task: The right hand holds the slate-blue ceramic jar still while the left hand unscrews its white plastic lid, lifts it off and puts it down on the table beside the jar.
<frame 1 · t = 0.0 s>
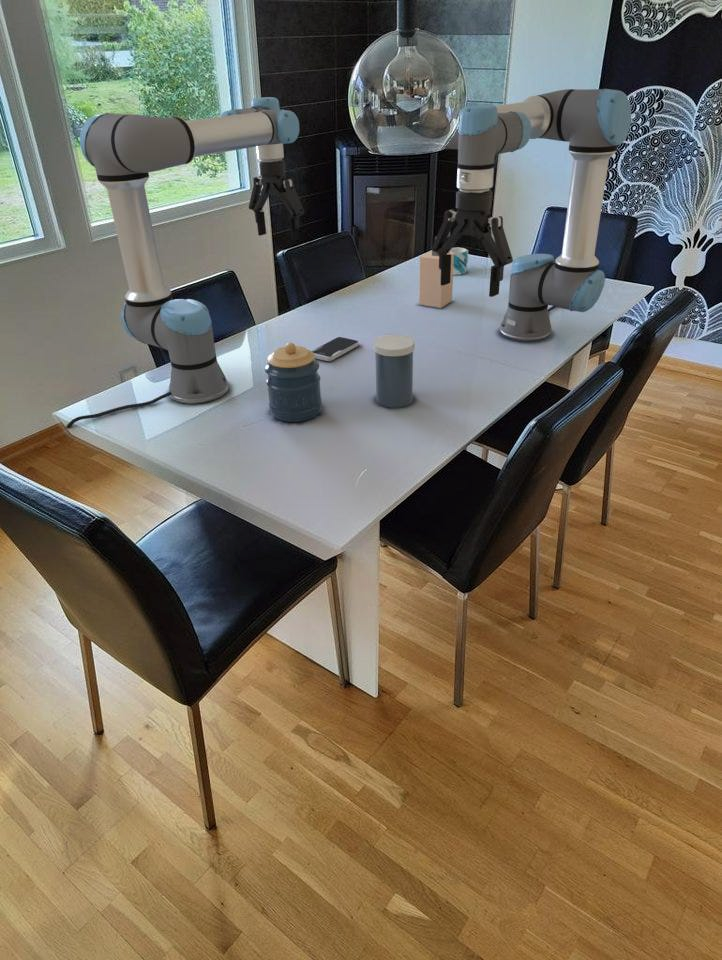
left hand: (278, 237, 202), 28 cm above the table, tool pointing down, fingers open, 13 cm apart
right hand: (469, 289, 153), 28 cm above the table, tool pointing down, fingers open, 13 cm apart
mug: (458, 270, 264), on the table
smartphone: (334, 351, 198), on the table
jar: (394, 399, 170), on the table
canister: (296, 411, 166), on the table
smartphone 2: (557, 290, 239), on the table
lid: (394, 343, 162), point 15 cm above the table, screwed on, not yet turned
soap dispenser: (438, 301, 233), on the table
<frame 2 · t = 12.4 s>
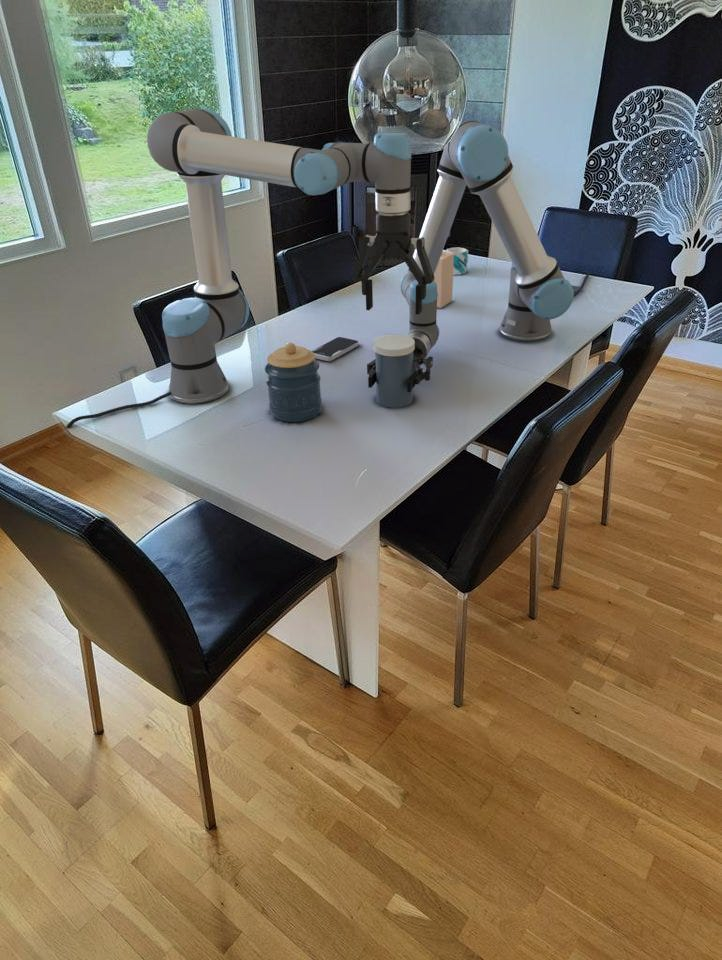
left hand: (393, 310, 157), 23 cm above the table, tool pointing down, fingers open, 11 cm apart
right hand: (389, 384, 163), 6 cm above the table, tool horizontal, fingers closed on jar, 9 cm apart
jar: (394, 399, 170), on the table, touching right hand
everything else where it was.
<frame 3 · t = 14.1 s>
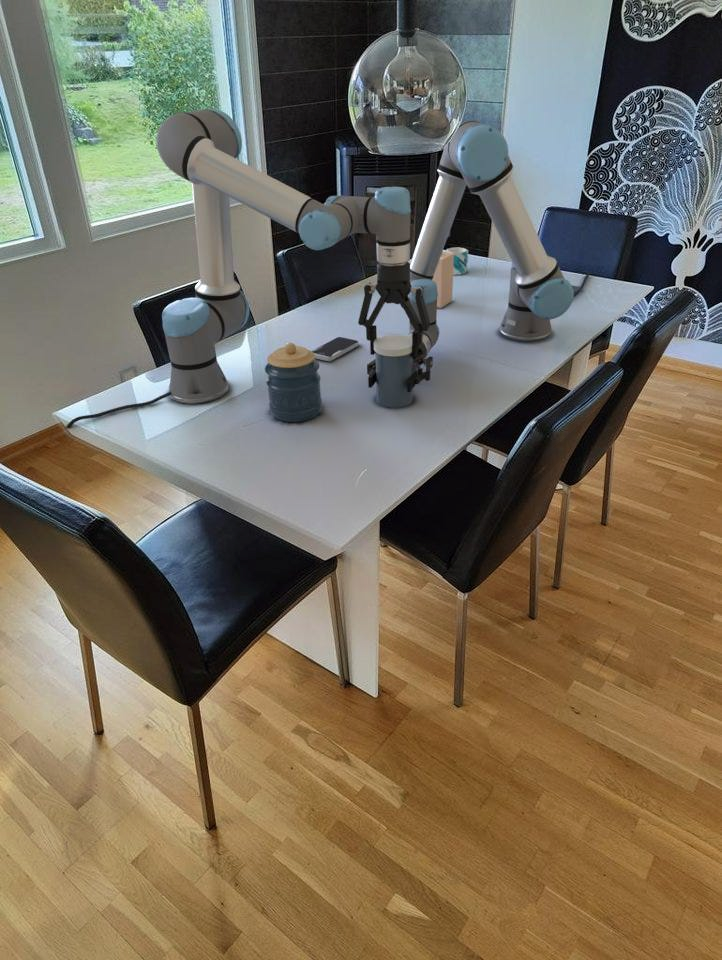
left hand: (394, 354, 163), 12 cm above the table, tool pointing down, fingers closed on lid, 10 cm apart
right hand: (389, 384, 163), 6 cm above the table, tool horizontal, fingers closed on jar, 9 cm apart
jar: (394, 399, 170), on the table, touching right hand
lid: (394, 343, 162), point 15 cm above the table, screwed on, not yet turned, touching left hand
everything else where it was.
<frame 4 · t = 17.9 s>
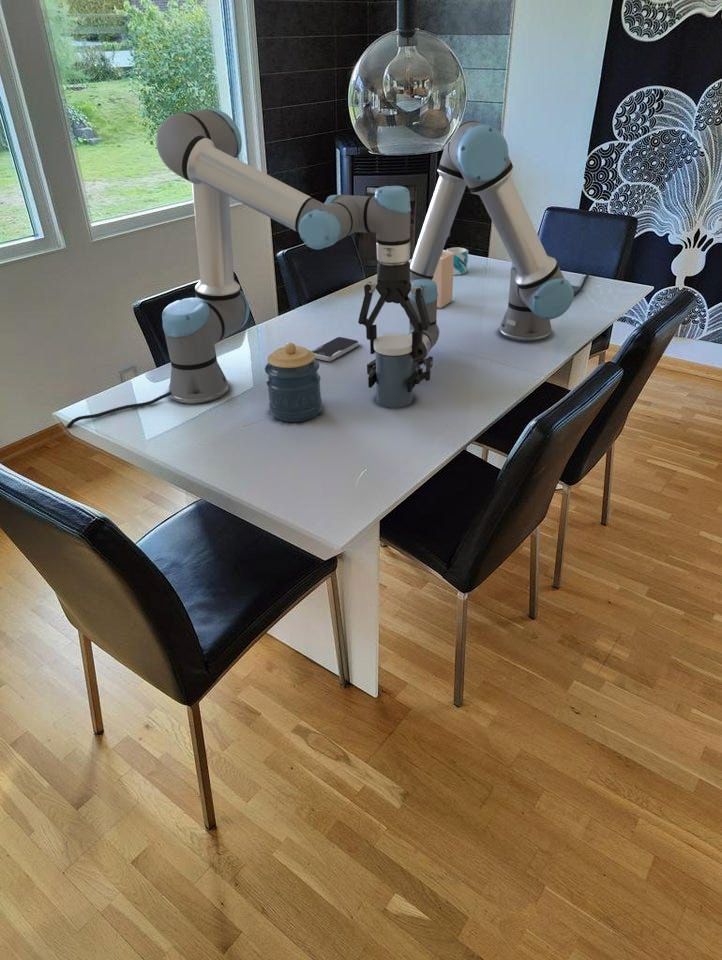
left hand: (394, 354, 163), 12 cm above the table, tool pointing down, fingers closed on lid, 10 cm apart
right hand: (389, 384, 163), 6 cm above the table, tool horizontal, fingers closed on jar, 9 cm apart
jar: (394, 399, 170), on the table, touching right hand
lid: (394, 342, 162), point 15 cm above the table, turned 124° so far, risen 0.2 cm, still on its thread, touching left hand
everything else where it was.
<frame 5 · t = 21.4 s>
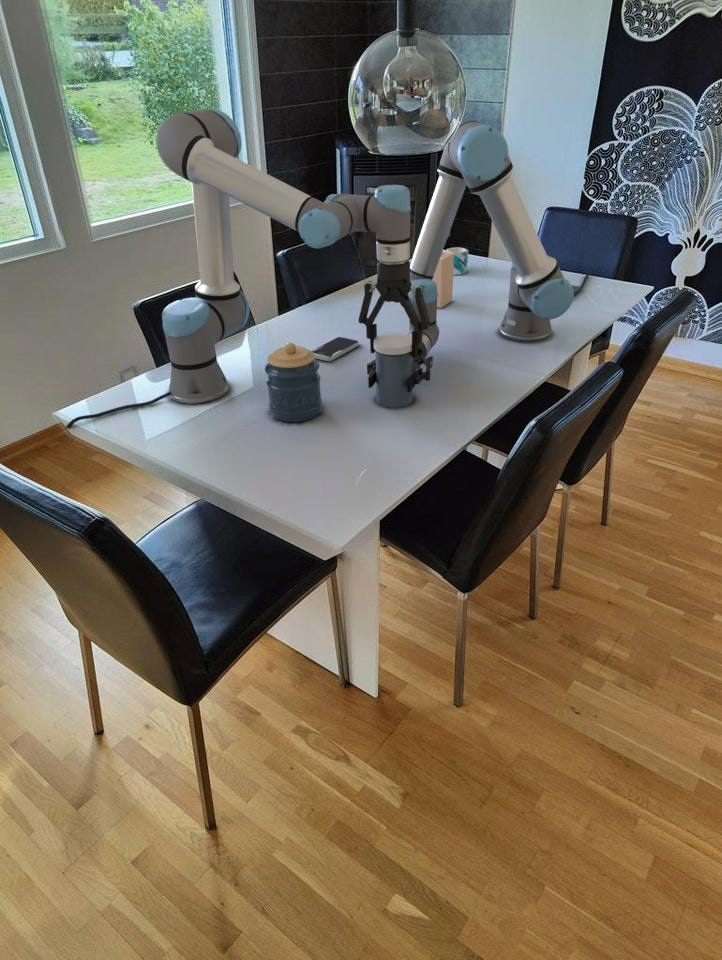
left hand: (394, 353, 163), 12 cm above the table, tool pointing down, fingers closed on lid, 10 cm apart
right hand: (389, 384, 163), 6 cm above the table, tool horizontal, fingers closed on jar, 9 cm apart
jar: (394, 399, 170), on the table, touching right hand
lid: (394, 341, 161), point 15 cm above the table, turned 247° so far, risen 0.4 cm, still on its thread, touching left hand
everything else where it was.
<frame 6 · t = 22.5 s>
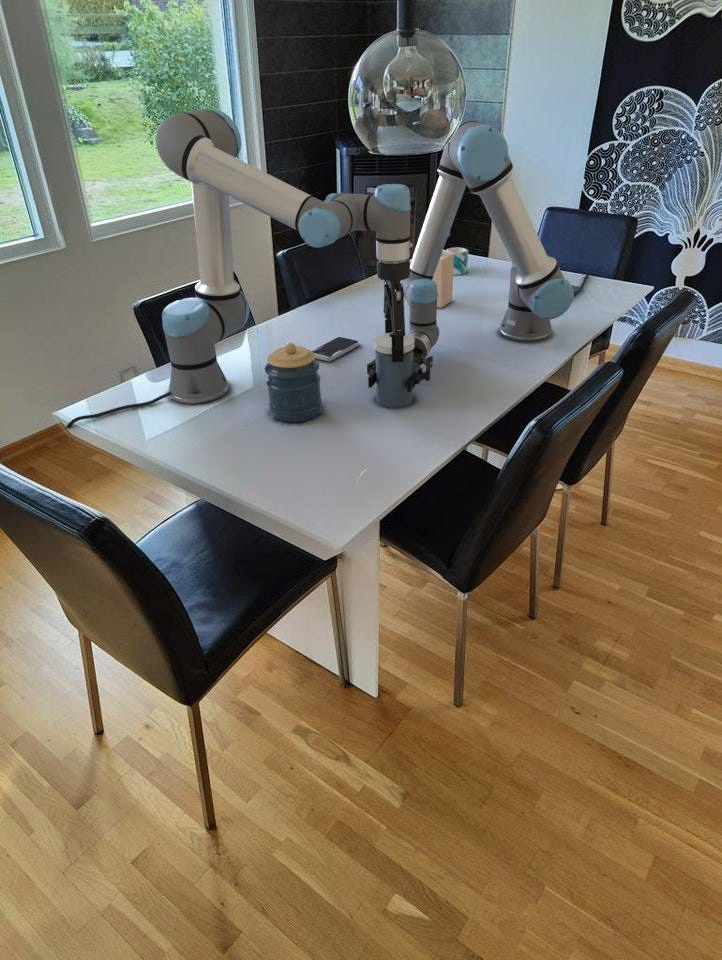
left hand: (394, 352, 163), 13 cm above the table, tool pointing down, fingers closed on lid, 10 cm apart
right hand: (389, 384, 163), 6 cm above the table, tool horizontal, fingers closed on jar, 9 cm apart
jar: (394, 399, 170), on the table, touching right hand
lid: (394, 340, 161), point 16 cm above the table, off its thread, touching left hand
everything else where it was.
when the left hand's fingers open (0 cm above the table, at t = 28.4 s): lid drops 2 cm, point 1 cm above the table.
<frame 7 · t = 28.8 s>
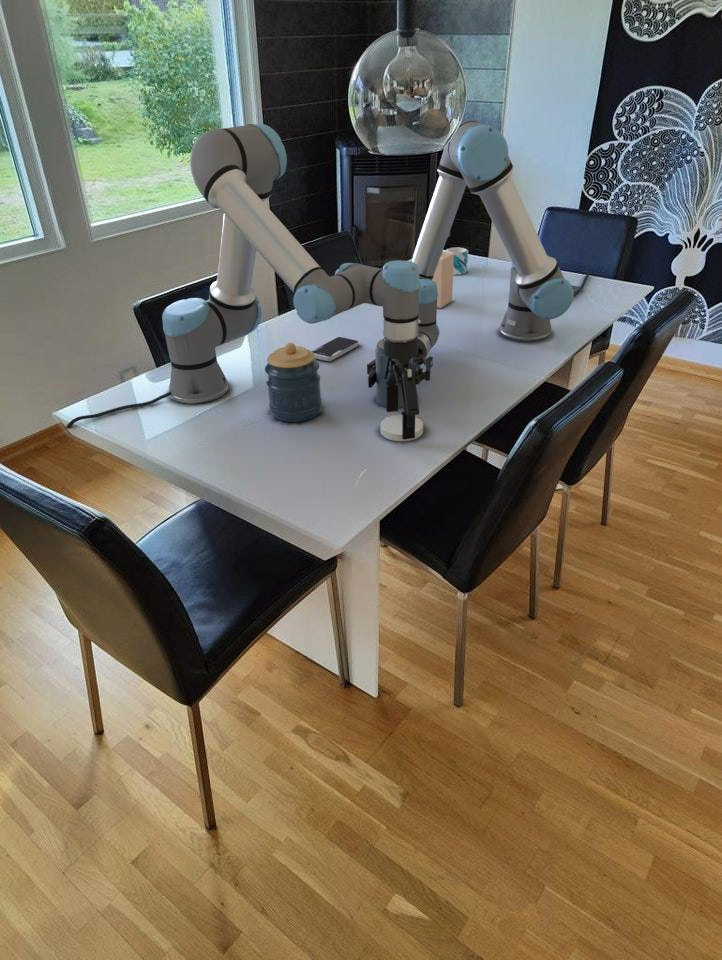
left hand: (400, 424, 155), 2 cm above the table, tool pointing down, fingers open, 13 cm apart
right hand: (389, 384, 163), 6 cm above the table, tool horizontal, fingers closed on jar, 9 cm apart
jar: (394, 399, 170), on the table, touching right hand
lid: (401, 425, 155), point 1 cm above the table, off its thread
everything else where it was.
when the right hand's fingers open (6 cm above the table, at t = 29.4 s): jar stays where it is, on the table.
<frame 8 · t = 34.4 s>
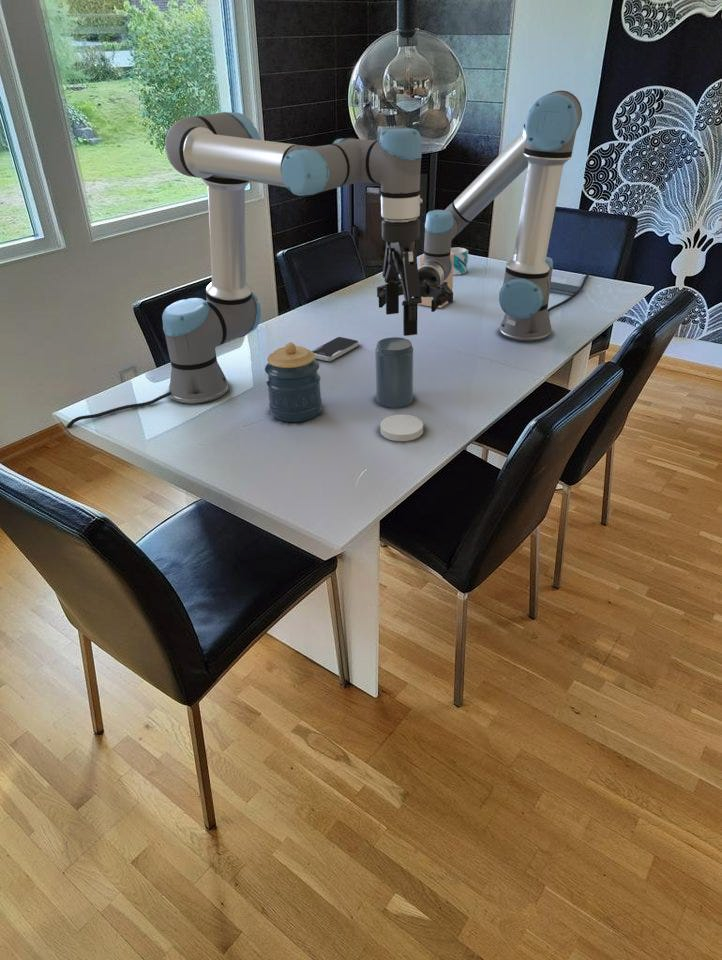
left hand: (400, 323, 142), 26 cm above the table, tool pointing down, fingers open, 13 cm apart
right hand: (406, 304, 167), 21 cm above the table, tool horizontal, fingers open, 13 cm apart
jar: (394, 399, 170), on the table
everything else where it was.
at the end: lid came off its thread; lid point 1.4 cm above the table; the left hand is holding nothing; the right hand is holding nothing; jar tilted 0°; jar moved 0.0 cm from its start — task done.
